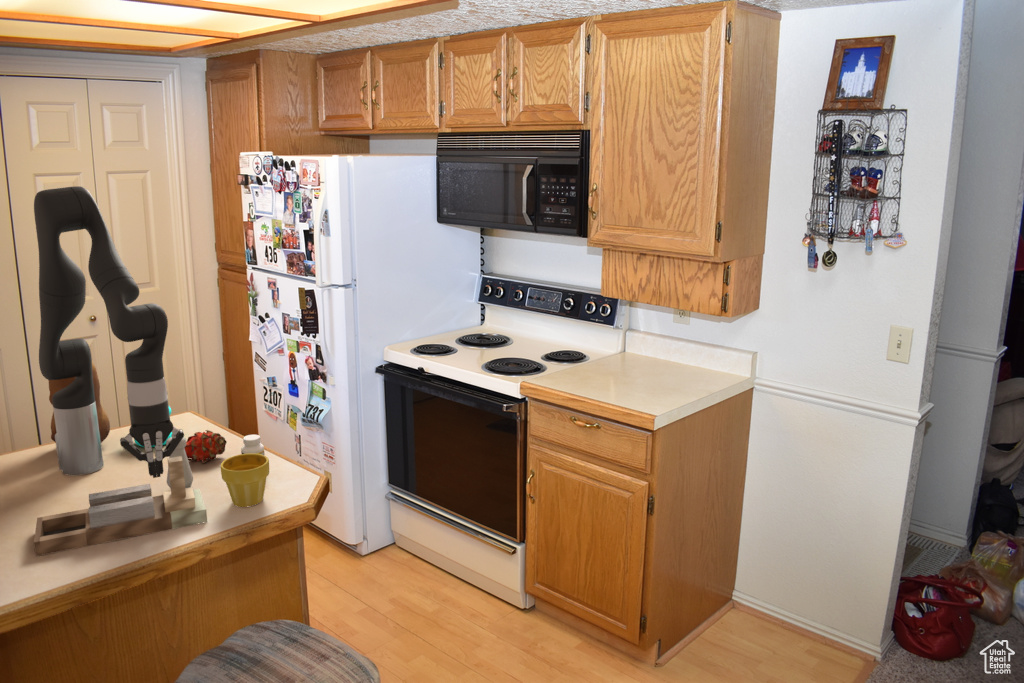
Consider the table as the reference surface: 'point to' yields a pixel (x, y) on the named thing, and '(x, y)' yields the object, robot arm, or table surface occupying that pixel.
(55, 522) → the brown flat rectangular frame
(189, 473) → the salt shaker
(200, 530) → the table surface
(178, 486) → the slider block
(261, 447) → the supplement bottle
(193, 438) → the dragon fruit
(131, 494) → the grey slotted block
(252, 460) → the plant pot
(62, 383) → the butternut squash
